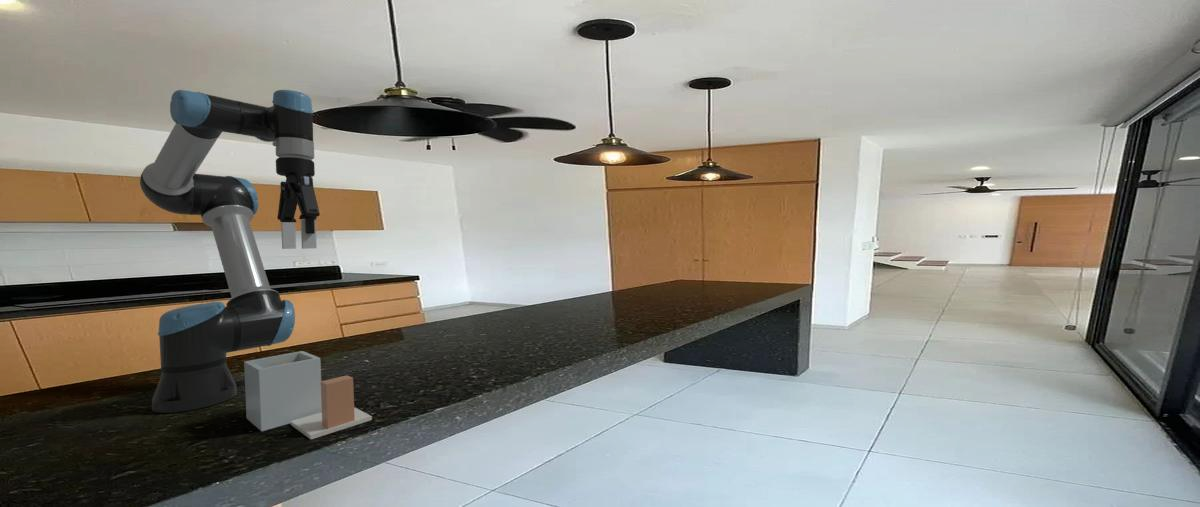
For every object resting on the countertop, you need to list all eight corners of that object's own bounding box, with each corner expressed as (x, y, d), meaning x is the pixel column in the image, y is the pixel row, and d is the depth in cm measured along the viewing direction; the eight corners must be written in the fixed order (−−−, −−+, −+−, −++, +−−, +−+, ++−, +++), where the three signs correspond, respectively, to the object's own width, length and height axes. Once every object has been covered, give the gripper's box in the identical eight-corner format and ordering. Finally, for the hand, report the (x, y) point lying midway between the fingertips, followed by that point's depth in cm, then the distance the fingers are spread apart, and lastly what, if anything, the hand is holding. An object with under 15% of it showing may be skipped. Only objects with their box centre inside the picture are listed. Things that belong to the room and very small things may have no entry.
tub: (246, 418, 95) (244, 361, 95) (304, 403, 104) (302, 350, 103) (261, 431, 88) (259, 370, 88) (322, 413, 97) (320, 358, 97)
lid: (290, 425, 91) (288, 378, 91) (349, 408, 100) (347, 365, 100) (310, 440, 84) (308, 389, 84) (371, 420, 93) (370, 374, 93)
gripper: (260, 163, 108) (263, 249, 109) (295, 148, 93) (298, 248, 93) (295, 167, 114) (298, 248, 115) (333, 154, 99) (337, 247, 99)
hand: (298, 248), depth 104 cm, fingers open, 13 cm apart
